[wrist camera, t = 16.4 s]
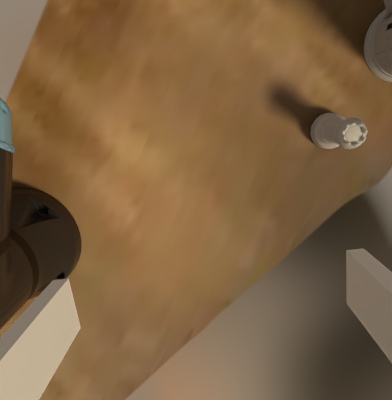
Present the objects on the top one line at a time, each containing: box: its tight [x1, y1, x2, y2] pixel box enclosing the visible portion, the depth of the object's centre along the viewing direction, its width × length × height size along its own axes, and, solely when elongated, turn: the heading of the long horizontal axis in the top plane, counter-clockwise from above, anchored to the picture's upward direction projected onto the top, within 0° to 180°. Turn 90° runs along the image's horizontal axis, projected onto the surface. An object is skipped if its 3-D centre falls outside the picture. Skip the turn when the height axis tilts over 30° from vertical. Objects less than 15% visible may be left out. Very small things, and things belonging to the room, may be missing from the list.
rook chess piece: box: [310, 113, 368, 149], centre depth 37 cm, size 4×4×8 cm
